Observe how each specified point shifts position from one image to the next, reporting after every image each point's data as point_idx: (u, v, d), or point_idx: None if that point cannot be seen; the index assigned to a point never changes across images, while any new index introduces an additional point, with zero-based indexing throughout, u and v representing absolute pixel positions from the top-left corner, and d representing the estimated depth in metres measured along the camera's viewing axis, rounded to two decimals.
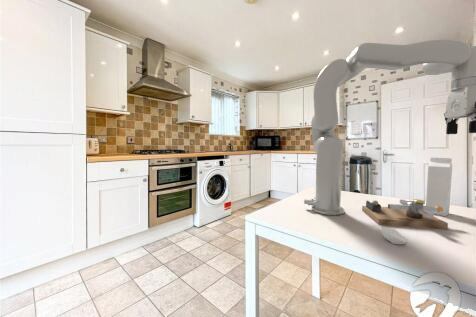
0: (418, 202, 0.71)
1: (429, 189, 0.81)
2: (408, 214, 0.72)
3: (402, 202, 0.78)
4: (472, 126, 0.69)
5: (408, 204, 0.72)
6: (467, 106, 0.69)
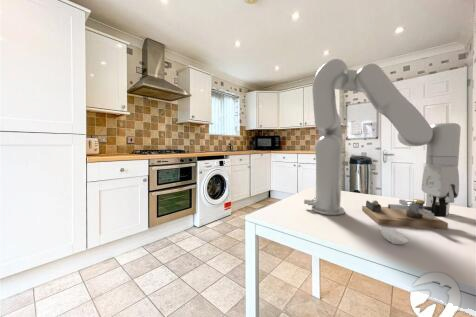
0: (418, 202, 0.71)
1: None
2: (408, 214, 0.72)
3: (402, 202, 0.78)
4: (436, 210, 0.68)
5: (408, 204, 0.72)
6: (441, 188, 0.64)
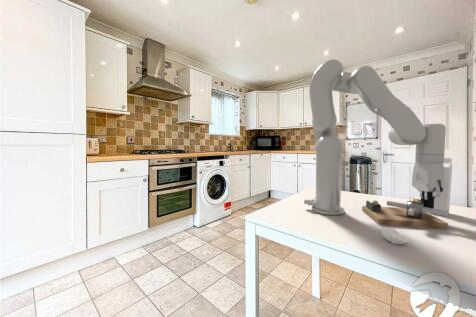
0: (419, 201, 0.71)
1: None
2: (415, 216, 0.70)
3: (392, 204, 0.76)
4: (425, 203, 0.74)
5: (415, 206, 0.70)
6: (428, 183, 0.70)
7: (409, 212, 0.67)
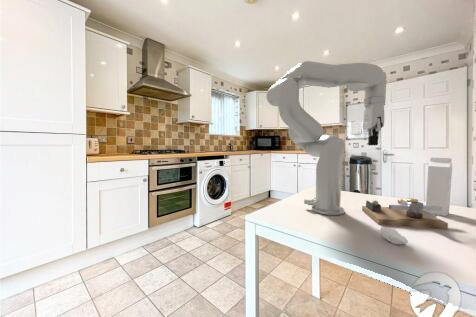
0: None
1: (429, 189, 0.81)
2: (420, 216, 0.70)
3: (397, 207, 0.72)
4: (371, 140, 0.89)
5: (420, 206, 0.70)
6: (372, 120, 0.85)
7: (432, 215, 0.64)
